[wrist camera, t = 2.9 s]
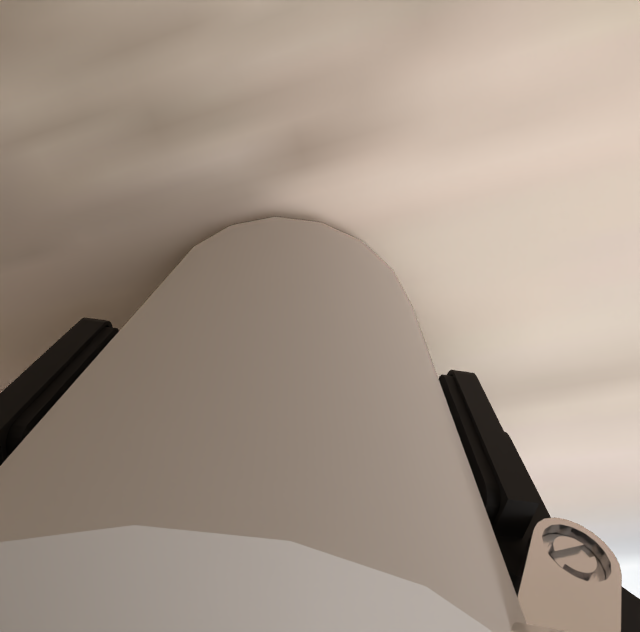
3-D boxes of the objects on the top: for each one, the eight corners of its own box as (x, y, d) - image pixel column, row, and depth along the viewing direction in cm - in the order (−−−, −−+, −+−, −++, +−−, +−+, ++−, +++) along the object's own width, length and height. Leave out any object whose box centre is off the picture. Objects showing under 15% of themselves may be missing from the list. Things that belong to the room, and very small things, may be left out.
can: (187, 430, 16) (-105, 1118, 5) (142, 213, 13) (-821, 847, 2) (407, 427, 16) (564, 1147, 5) (417, 203, 13) (918, 883, 2)
